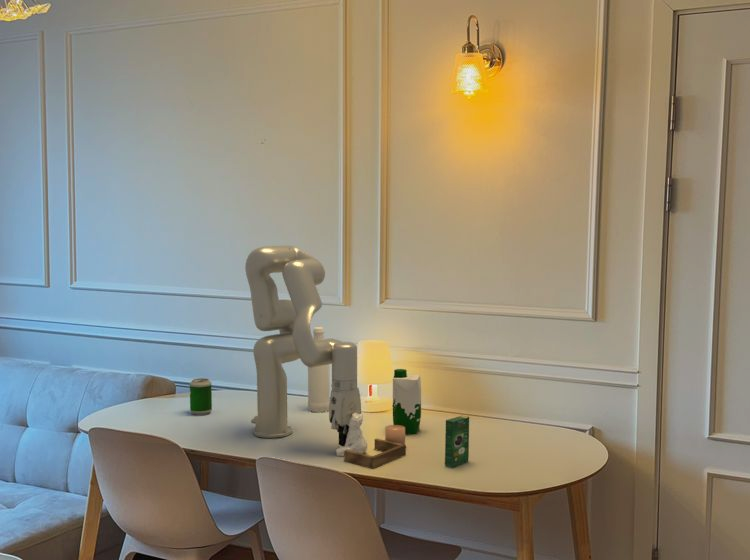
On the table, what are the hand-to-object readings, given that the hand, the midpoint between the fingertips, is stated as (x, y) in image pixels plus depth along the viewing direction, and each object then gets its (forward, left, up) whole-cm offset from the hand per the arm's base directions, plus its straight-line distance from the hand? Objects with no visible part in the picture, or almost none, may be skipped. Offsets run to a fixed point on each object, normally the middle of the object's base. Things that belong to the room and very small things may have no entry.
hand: (344, 445), depth 221 cm
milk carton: (+3, +28, -2) cm, 28 cm away
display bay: (+11, 0, -2) cm, 11 cm away
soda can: (-68, +2, -2) cm, 68 cm away
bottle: (-38, +31, -2) cm, 49 cm away
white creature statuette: (+3, 0, -2) cm, 4 cm away
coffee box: (+33, +10, -2) cm, 34 cm away
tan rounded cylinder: (+10, +12, -2) cm, 16 cm away
